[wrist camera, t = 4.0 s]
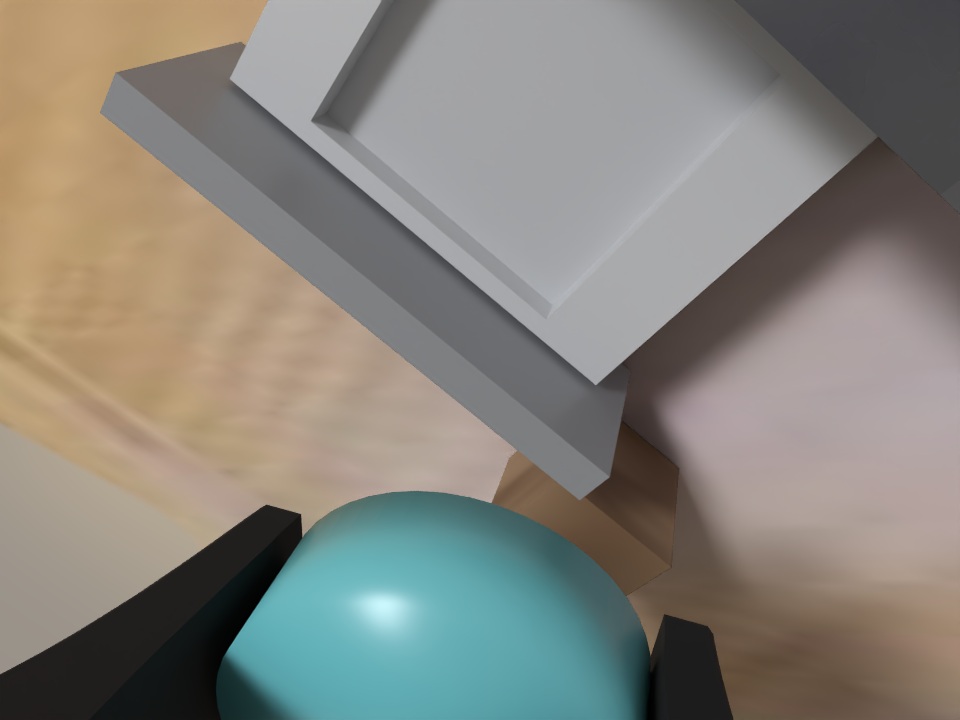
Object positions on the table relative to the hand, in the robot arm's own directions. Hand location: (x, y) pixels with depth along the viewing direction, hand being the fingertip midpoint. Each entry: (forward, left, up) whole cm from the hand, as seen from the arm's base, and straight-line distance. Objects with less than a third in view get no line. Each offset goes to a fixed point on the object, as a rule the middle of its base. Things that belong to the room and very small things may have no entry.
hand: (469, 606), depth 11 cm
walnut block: (-4, +3, -10) cm, 11 cm away
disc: (0, 0, 0) cm, 1 cm away
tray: (+4, -6, -10) cm, 13 cm away
